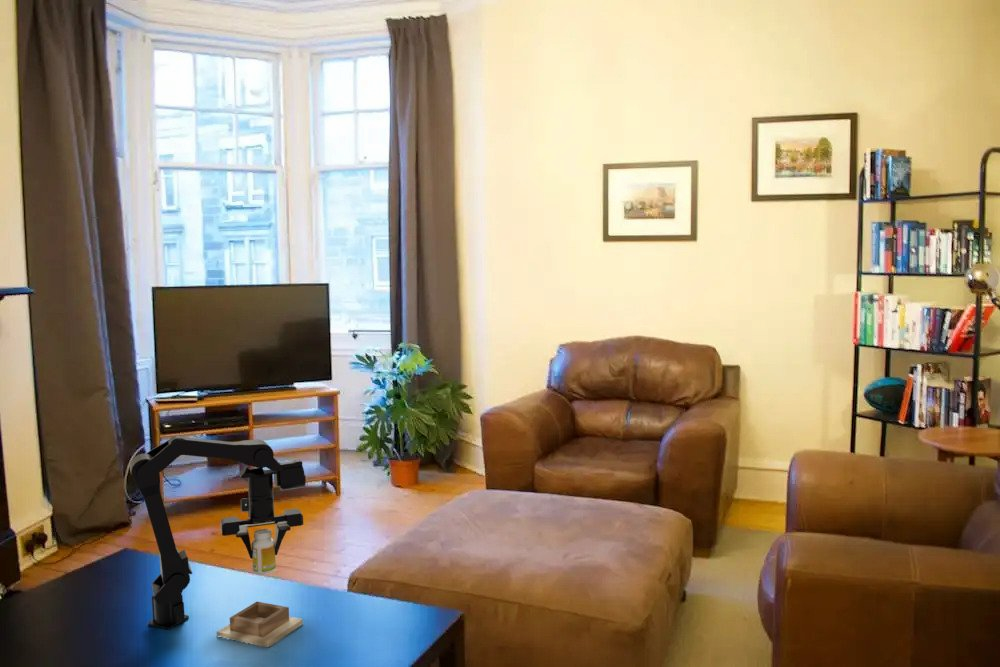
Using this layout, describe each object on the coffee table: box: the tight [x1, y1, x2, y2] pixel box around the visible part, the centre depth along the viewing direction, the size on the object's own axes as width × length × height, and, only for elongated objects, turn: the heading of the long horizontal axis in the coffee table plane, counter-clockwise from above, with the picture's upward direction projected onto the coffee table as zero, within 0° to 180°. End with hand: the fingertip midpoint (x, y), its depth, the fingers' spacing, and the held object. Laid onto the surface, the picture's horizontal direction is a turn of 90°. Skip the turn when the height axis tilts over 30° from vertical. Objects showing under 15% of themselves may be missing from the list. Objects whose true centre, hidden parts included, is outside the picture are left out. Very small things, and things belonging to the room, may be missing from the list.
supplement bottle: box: [251, 528, 277, 575], centre depth 194 cm, size 5×5×10 cm
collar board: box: [216, 601, 304, 648], centre depth 180 cm, size 14×12×4 cm
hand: (263, 556), depth 194 cm, fingers closed on supplement bottle, 5 cm apart
